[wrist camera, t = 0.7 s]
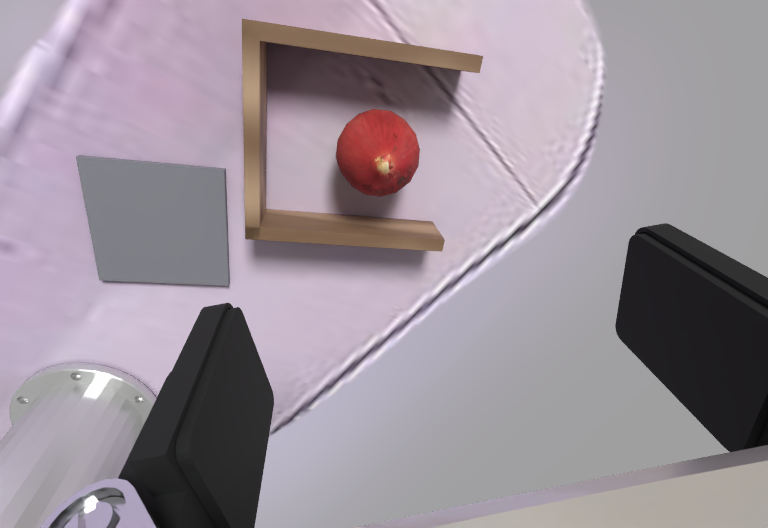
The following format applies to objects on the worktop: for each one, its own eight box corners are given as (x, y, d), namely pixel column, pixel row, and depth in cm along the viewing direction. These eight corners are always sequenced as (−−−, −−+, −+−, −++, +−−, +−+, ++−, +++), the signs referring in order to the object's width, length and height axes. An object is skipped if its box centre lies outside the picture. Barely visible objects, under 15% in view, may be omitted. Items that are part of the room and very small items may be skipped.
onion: (422, 149, 33) (450, 175, 26) (366, 194, 34) (379, 231, 27) (378, 87, 31) (396, 97, 24) (319, 138, 32) (319, 162, 25)
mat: (229, 283, 36) (228, 285, 36) (102, 277, 34) (99, 280, 34) (225, 168, 32) (224, 170, 31) (79, 155, 30) (75, 156, 29)
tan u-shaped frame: (430, 232, 36) (442, 251, 33) (253, 219, 34) (245, 239, 30) (464, 55, 30) (483, 56, 27) (251, 23, 28) (241, 18, 24)
